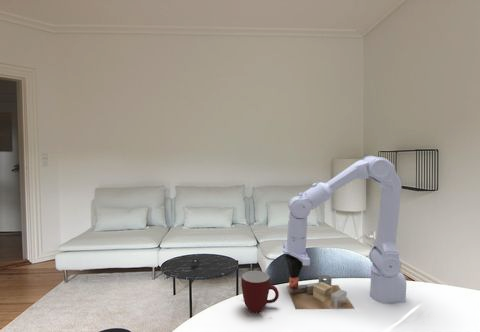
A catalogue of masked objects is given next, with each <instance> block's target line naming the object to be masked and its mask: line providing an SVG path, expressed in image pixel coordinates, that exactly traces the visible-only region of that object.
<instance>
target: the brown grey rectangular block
mask: <svg viewBox="0 0 480 332" xmlns="http://www.w3.org/2000/svg"><path fill="white" fill-rule="evenodd" d="M347 295H348V292H347V291H346V290H344V289H341V288H340V290H338V291H337V292H335V293H333V294H331V304H330V306H331V307H333V308H335V309H334V310H338V309H337V308H339V307H341V306H343V305H344V304H346V299H347V298H348V296H347Z"/></svg>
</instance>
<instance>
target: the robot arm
mask: <svg viewBox="0 0 480 332" xmlns="http://www.w3.org/2000/svg"><path fill="white" fill-rule="evenodd" d="M357 179H359V180H361V179H372V180H373V181H374V182H375V183H376V184H378V186H379V187H380V189H381V192H380V200H379V201H380V202H379V212H378V222H377V231H376V232H377V233H376V239H374V241H373V243H372V244H373V245H372V247H371V249H370V251H369V253H368V258H369V260H370V262H371V268H370V286H369V287H370V288H369V297H370V298H371V299H372V300H374V301H375V302H379V303H381V304H395V303H406V301H407V300H406V298H407V280H406V276H405V274H404V273H403V272H402V271H401V269H402V263H401V261H400V252H399V248H398V245H397V235H398V227H399V226H398V224H399V223H398V222H399V214H400V207H401V196H402V187H403V186H402V185H403V184H402V181H401V179H400V177H399V175H398V172H397V171H396V166H395V164H394V163H393V162H391V161H390V160H388V159H387V158H385V157H383V156H382V157H379V156H374V155H367V156H364V157H363V158H362V159H358V160H357V161H356V162H354V163H353V164H351V165H350V166H349V167H347V168H345V169H344V170H343V171H341V172H340V173H338V174H337V175H335V176H334V177H332V178H331V179H329V180H328V181H327V182H321V181H319V182H318V183H317V182H314V183H313V184H311V185H312V186H311V187H309V188H308V189H307V190H305V191H304V192H299V193H298V196H297V195H296V196H294V197H291V199H290V200H289V202H288V204H287V206H288V209H289V216H288V218H289V219H288V225H287V238H286V239H287V240H286V241H284V242H283V245H282V247H283V249H282V253H283V254H284V255H283V257H284V259H285V260H286V264H287V268H288V275H289V276H290V277H291V278H295V277H299V276H300V274H301V270H302V268H303V267H304V266H310V265H311V258H310V257H309V255H308V253H307V250H306V248H307V236H308V235H307V234H308V217H309V215H310V214H311V211H312V210H315V209H316V208H318V207H319V206H321V205H322V204H324V203H325V202H327V201H329V200H330V199H331V198H332V196H333V193H334V192H335V191H337V190H339V189H341V188H342V187H345V186H346V185H347V184H350V183H351V182H353V181H354V180H357Z"/></svg>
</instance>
